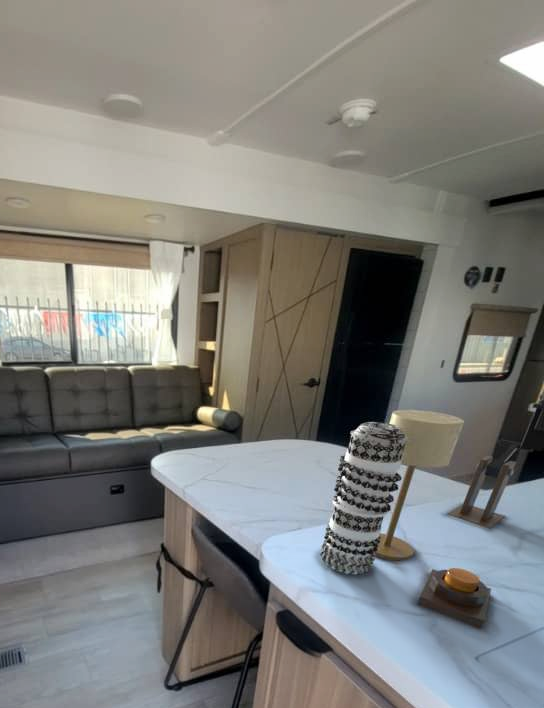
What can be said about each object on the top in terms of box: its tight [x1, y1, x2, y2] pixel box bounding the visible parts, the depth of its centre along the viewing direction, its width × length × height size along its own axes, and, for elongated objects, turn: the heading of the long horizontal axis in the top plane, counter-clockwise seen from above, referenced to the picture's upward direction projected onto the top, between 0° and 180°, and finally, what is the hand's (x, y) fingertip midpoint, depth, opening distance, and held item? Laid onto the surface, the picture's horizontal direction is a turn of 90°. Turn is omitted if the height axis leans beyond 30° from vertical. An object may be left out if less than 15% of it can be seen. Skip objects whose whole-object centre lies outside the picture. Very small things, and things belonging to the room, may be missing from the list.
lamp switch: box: [485, 439, 534, 479], centre depth 86 cm, size 12×6×2 cm, turn 126°
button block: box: [416, 568, 492, 630], centre depth 62 cm, size 10×8×4 cm
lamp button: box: [444, 567, 481, 592], centre depth 61 cm, size 4×4×2 cm
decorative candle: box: [319, 421, 409, 575], centre depth 66 cm, size 9×9×25 cm
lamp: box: [374, 409, 465, 562], centre depth 71 cm, size 10×10×26 cm
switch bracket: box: [446, 455, 517, 529], centre depth 87 cm, size 10×8×14 cm
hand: (531, 448), depth 66 cm, fingers closed
